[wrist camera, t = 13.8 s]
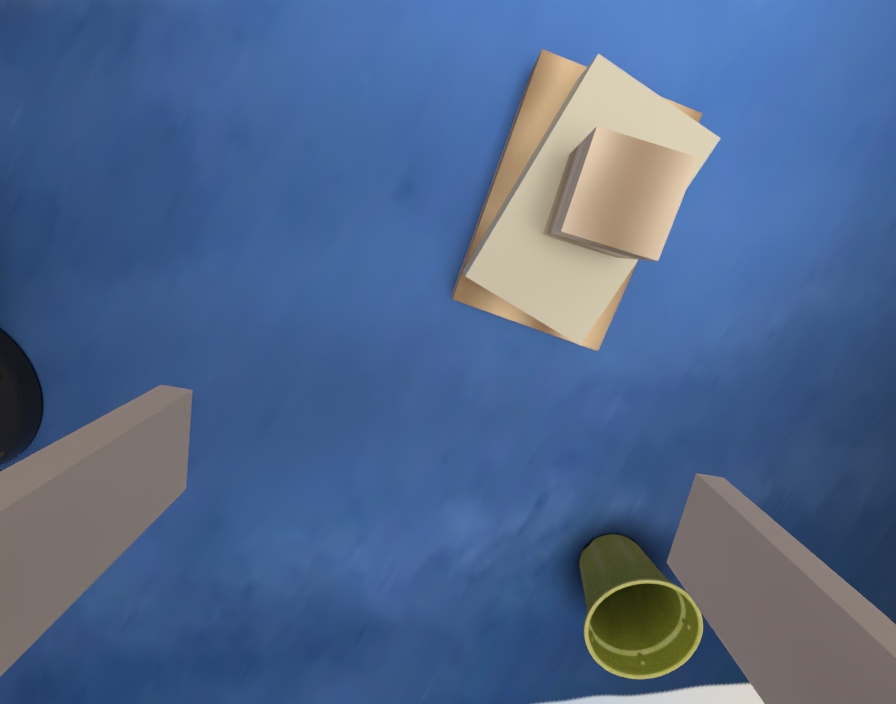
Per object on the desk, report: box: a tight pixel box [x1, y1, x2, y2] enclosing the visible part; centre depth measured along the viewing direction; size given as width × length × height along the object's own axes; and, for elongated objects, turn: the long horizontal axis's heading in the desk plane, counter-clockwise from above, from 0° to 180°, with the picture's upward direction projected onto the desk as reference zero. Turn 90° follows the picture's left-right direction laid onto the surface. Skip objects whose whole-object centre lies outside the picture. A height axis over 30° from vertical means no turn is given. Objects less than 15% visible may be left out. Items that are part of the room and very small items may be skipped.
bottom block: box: [452, 49, 702, 351], centre depth 37 cm, size 12×18×5 cm, turn 161°
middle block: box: [463, 54, 721, 346], centre depth 33 cm, size 9×15×5 cm, turn 149°
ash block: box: [543, 126, 699, 261], centre depth 27 cm, size 5×5×7 cm
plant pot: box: [579, 534, 703, 679], centre depth 43 cm, size 9×9×9 cm
